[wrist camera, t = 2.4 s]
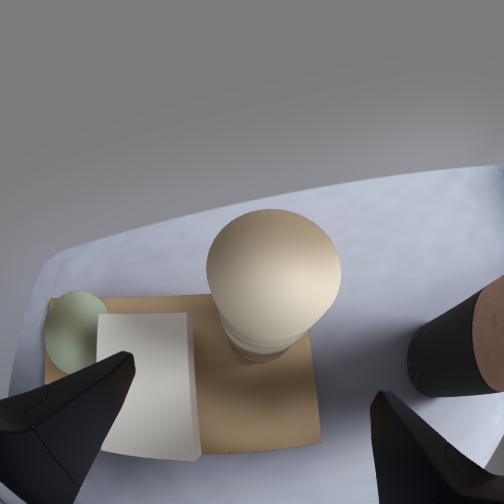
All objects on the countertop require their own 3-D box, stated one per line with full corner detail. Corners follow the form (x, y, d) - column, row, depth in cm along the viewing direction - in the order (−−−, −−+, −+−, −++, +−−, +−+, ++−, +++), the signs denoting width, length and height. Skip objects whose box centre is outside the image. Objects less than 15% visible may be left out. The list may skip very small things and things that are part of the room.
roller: (297, 358, 19) (353, 323, 9) (229, 364, 18) (208, 338, 8) (289, 295, 21) (325, 206, 11) (224, 300, 20) (206, 213, 11)
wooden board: (317, 439, 17) (322, 442, 15) (54, 428, 15) (44, 429, 14) (298, 285, 22) (301, 278, 21) (57, 296, 21) (49, 290, 20)
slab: (205, 447, 15) (196, 461, 12) (126, 441, 15) (101, 450, 11) (197, 326, 19) (186, 312, 16) (122, 328, 19) (98, 313, 16)
